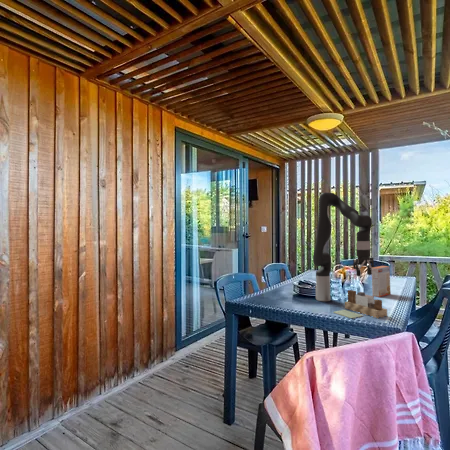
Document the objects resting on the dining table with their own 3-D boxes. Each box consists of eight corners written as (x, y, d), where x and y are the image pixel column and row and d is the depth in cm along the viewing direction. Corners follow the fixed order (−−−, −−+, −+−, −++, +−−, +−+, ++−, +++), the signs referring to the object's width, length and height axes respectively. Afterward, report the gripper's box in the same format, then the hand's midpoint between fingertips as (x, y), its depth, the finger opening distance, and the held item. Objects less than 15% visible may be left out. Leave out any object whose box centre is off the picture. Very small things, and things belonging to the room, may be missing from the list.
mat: (333, 312, 189) (333, 311, 189) (344, 310, 192) (344, 309, 192) (351, 318, 176) (351, 317, 176) (363, 316, 180) (363, 315, 180)
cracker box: (383, 293, 235) (382, 265, 235) (391, 294, 230) (390, 266, 230) (371, 295, 228) (371, 267, 228) (379, 297, 223) (378, 268, 223)
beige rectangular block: (355, 304, 191) (355, 292, 191) (361, 303, 193) (361, 291, 193) (367, 307, 183) (367, 295, 183) (374, 306, 185) (373, 294, 185)
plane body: (344, 308, 198) (344, 290, 198) (354, 306, 201) (353, 289, 201) (377, 318, 176) (376, 298, 176) (387, 316, 179) (386, 297, 179)
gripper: (366, 247, 194) (367, 273, 195) (349, 248, 189) (350, 275, 189) (377, 248, 188) (377, 275, 188) (359, 249, 182) (360, 277, 182)
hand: (363, 275), depth 188 cm, fingers open, 8 cm apart
